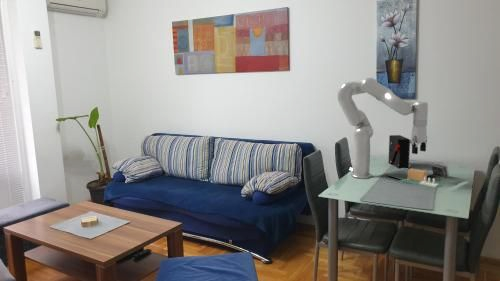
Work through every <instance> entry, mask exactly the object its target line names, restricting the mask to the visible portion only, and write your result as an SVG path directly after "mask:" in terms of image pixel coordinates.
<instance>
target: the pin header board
mask: <svg viewBox="0 0 500 281" xmlns="http://www.w3.org/2000/svg"><path fill="white" fill-rule="evenodd" d="M406 178H408V176H407V177H406ZM398 181H399V182H403V183H408V184H414V185H418V186H423V187H427V188H432V189H438V188H442V187H443V186H445V185H448V183H447V182H443V181H439V180H436V179H435V178H432V179H431V177H427V180H426V177H424V181H418V180H413V179H412V180H407V179H406V180H405V178H402V179H400V180H398Z"/></svg>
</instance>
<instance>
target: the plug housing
mask: <svg viewBox="0 0 500 281" xmlns="http://www.w3.org/2000/svg"><path fill="white" fill-rule="evenodd" d="M407 177H408V179H413V180H418V181H424V177H426V180H427V179H428V170H424V169H419V168H412V167H411V168H408V169H407Z"/></svg>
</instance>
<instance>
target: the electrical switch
mask: <svg viewBox="0 0 500 281" xmlns="http://www.w3.org/2000/svg"><path fill="white" fill-rule="evenodd" d="M431 168H432V169H431V170H432V175H434V176H435V175H437V176H441V177H442V178H450V175H449V170H448V165H447V164H443V163H439V162H434V163H433V165H431Z"/></svg>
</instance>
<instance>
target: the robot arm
mask: <svg viewBox="0 0 500 281" xmlns="http://www.w3.org/2000/svg"><path fill="white" fill-rule="evenodd" d="M366 93H367V94H368V95H370V96H371V97H373V98H375V99H377V100H378V101H380V102H381V103H382V104H383V105H386V106H387V107H389V109H391V110H393V111H394V112H396V113H397V114H400V115H402V116H408V115H410V114H413V115H412V117H413V118H412V129H411V135H410V136H411V137H410V140H411V143H410V145H411V154H413V155H418V152H419V151H420V152H426V151H427V142H428V131H427V130H428V128H427V127H428V115H429V114H428V113H429V111H428V110H429V105H428V102H426V101H410V100H406V101H405V100H404V99H402V98H401V97H399V96H398V95H396V94H395V93H393V91H392V90H391V89H390V88H388V87H386V86H385V85H383V84H381V83H379V81H377V79H376V78H373V77H366V78H364V79H361V80H355V81H349V82H345V83H344V84H342V85H341V86H340V88H339V90H338V92H337V101H338V103H339V105H340V107H341V110H342V111H343V114H344V116H345V118H346V120H347V122H348V124H349V125H351V126H353V127H354V128H355V130H354V133H353V145H354V146H353V147H354V151H353V153H354V154H353V167H349V169H348V171H349V172H351V175H350V176H351V178H352V177H353V178H356V179H370V178H372V176H373V174H372V173H370V164H371V138H372V136H373V135H374V128H373V127H372V124H371V122H370V121H369V118H368V117H367V114H366V113H365V112H364V111H363V110H362V109H359V108H358V107H357V105H356V102H355V101H354V99H353V96H356V95H360V94H366ZM419 144H420V146H419V147H420V148H419V147H418V145H419ZM418 150H419V151H418Z"/></svg>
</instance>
